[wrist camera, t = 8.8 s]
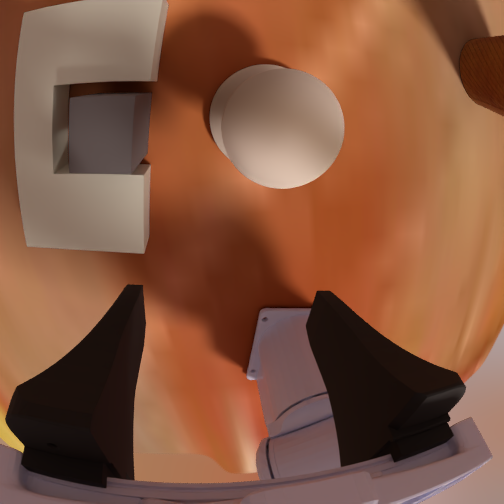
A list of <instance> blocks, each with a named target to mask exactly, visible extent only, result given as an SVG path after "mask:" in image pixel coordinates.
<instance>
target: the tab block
mask: <svg viewBox="0 0 504 504" xmlns="http://www.w3.org/2000/svg"><path fill="white" fill-rule="evenodd" d="M151 99H152V93H138V92H128V93H97V94H90V95H84V96H78V97H72V98H70V103H69V173H84V174H132V173H133V171H134V170H135V169H136V167H137V166H138V165H139V163H140V162H141V161H142V160H143V158H144V157H145V156H146V154H147V153H148V136H149V122H150V110H151Z"/></svg>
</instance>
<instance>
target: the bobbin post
mask: <svg viewBox="0 0 504 504" xmlns="http://www.w3.org/2000/svg"><path fill="white" fill-rule="evenodd" d="M210 127H211V132H212V135H213V138H214V140H215V142H216V144H217V146H218V147H219V149H220V150H221V151H222V152H223V153H224V154H225V156H226V157H228V158H229V159H230V160H231V162H232V163H233V164H234V166H235V167H236V168H237V169H238V170H239V171H240V172H241V173H242V174H243V175H244V176H246V177H247V178H248V179H250V180H252V181H253V182H255V183H258V184H260V185H263V186H266V187H271V188H280V189H285V188H294V187H298V186H301V185H304V184H307V183H309V182H311V181H313V180H315V179H316V178H318V177H319V176H320V175H322V174H323V173H324V172H325V171H326V170H327V169H328V168H329V167H330V166H331V164H332V163H333V162H334V160H335V159H336V157H337V155H338V153H339V151H340V149H341V146H342V142H343V137H344V118H343V113H342V110H341V107H340V104H339V102H338V100H337V99H336V97H335V95H334V94H333V93H332V91H331V90H330V89H329V88H328V87H327V86H326V85H325V84H324V83H323V82H322V81H320V80H319V79H318V78H316V77H314V76H313V75H311V74H308V73H306V72H303V71H299V70H295V69H287V68H284V67H281V66H277V65H269V64H262V65H254V66H250V67H247V68H244V69H242V70H240V71H238V72H236V73H234V74H233V75H231V76H230V77H229V78H228V79H226V80H225V81H224V82H223V84H222V85H221V86H220V87H219V89H218V90H217V92H216V94H215V96H214V98H213V101H212V103H211V108H210Z"/></svg>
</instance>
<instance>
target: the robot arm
mask: <svg viewBox="0 0 504 504" xmlns="http://www.w3.org/2000/svg"><path fill="white" fill-rule="evenodd" d="M265 317H266V318H265ZM263 318H265V319H263ZM145 327H146V319H145V308H144V296H143V285H130V284H128V285H127V286H126V287H125V288H124V290H123V291H122V293H121V294H120V295H119V297H118V298H117V300H116V301H115V302H114V304H113V305H112V306H111V308H110V309H109V310H108V311H107V313H106V314H105V315H104V317H103V318H102V319H101V320H100V321H99V322H98V324H97V325H96V326H95V327H94V328H93V329H92V330H91V332H90V333H89V334H88V335H87V336H86V337H85V338H84V339H83V340H82V341H81V342H80V343H79V344H78V345H77V346H76V347H74V348H73V349H72V350H71V351H70V352H69V353H68V354H66V355H65V356H64V357H63V358H62V359H60V360H59V361H58V362H56V363H55V364H54V365H52V366H51V367H49V368H48V369H46V370H45V371H43V372H42V373H40V374H39V375H37V376H35V377H33V378H32V379H30V380H28V381H26V382H24V383H22V384H21V385H19V386H17V387H16V389H15V392H14V394H13V396H12V399H11V402H10V405H9V408H8V411H7V415H6V418H5V420H6V424H7V425H8V427H9V428H10V430H11V431H12V432H13V433H14V435H15V436H16V437H17V438H18V439H19V440H20V441H21V442H22V443H23V444H24V446H25V447H24V452H23V453H22V452H20V451H18V450H16V449H14V448H11V447H8V446H5V445H2V444H0V504H418V503H420V502H422V501H424V500H426V499H428V498H430V497H432V496H434V495H436V494H438V493H440V492H442V491H443V490H446V489H447V488H449V487H451V486H453V485H455V484H457V483H458V482H460V481H461V480H463V479H464V478H466V477H467V476H469V475H470V474H472V473H473V472H474V471H476V470H477V469H479V468H480V467H481V466H483V465H484V464H485V463H486V462H488V461H489V460H491V459H492V457H493V456H492V454H491V452H490V450H489V448H488V446H487V444H486V443H485V441H484V439H483V437H482V435H481V433H480V431H479V430H478V428H477V426H476V425H475V423H474V421H473V419H472V418H471V417H469V418H467V419H465V420H463V421H460V422H458V423H456V424H454V425H453V426H451V427H449V425H448V423H447V422H449V421H450V417H449V415H448V412H449V411H450V410H451V409H452V408H453V407H454V406H455V405H456V404H457V403H458V402H459V400H460V399H461V398H462V397H463V395H464V393H465V390H466V387H465V385H464V383H463V381H462V380H461V378H460V377H459V375H458V374H457V373H456V372H453V371H450V370H448V369H445V368H442V367H439V366H436V365H434V364H432V363H429V362H427V361H425V360H423V359H421V358H419V357H417V356H415V355H413V354H411V353H409V352H408V351H406V350H404V349H402V348H401V347H399V346H398V345H396V344H395V343H393V342H392V341H390V340H389V339H387V338H386V337H384V336H383V335H382V334H380V333H379V332H378V331H376V330H375V329H374V328H373V327H371V326H370V325H369V324H368V323H366V322H365V321H364V320H363V319H362V318H361V317H359V316H358V315H357V314H356V313H355V312H354V311H353V310H352V309H350V308H349V307H348V306H347V305H346V304H345V303H344V302H343V301H341V300H340V299H339V298H338V297H337V296H336V295H335V294H333V293H332V292H331V291H317V293H316V296H315V299H314V302H313V305H312V308H264V309H262V310H261V311H260V312H259V317H258V322H257V327H256V332H255V336H254V341H253V346H252V351H251V355H250V360H249V365H248V369H247V374H246V376H247V379H249V380H257V384H258V389H259V395H260V400H261V405H262V410H263V415H264V420H265V424H266V426H267V429H268V434H269V437H267V438H264V439H262V440H261V442H260V444H259V448H258V450H257V453H256V466H257V472H258V475H259V479H260V480H259V481H247V482H233V483H203V484H202V483H199V484H198V483H197V484H196V483H195V484H194V483H191V484H190V483H161V482H146V481H135V480H134V461H133V418H134V398H135V390H136V384H137V379H138V373H139V368H140V363H141V358H142V352H143V347H144V339H145ZM253 369H254V370H253Z"/></svg>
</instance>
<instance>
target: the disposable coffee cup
mask: <svg viewBox="0 0 504 504" xmlns="http://www.w3.org/2000/svg"><path fill="white" fill-rule="evenodd" d="M460 74H461V78H462V82H463V85H464V88H465V90H466V92H467V94H468V95H469V97H470V98H471V99H472V100H473V101H474V102H475V103H477V104H478V105H480V106H483V107H485V108H487V109H489V110H492V111H493V112H496V113H498V114H500V115H502V116H504V35H502V36H494V37H486V38H479V39H472V40H470V41H468V42H467V43H466V44H465V46H464V47H463V49H462V52H461V56H460Z"/></svg>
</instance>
